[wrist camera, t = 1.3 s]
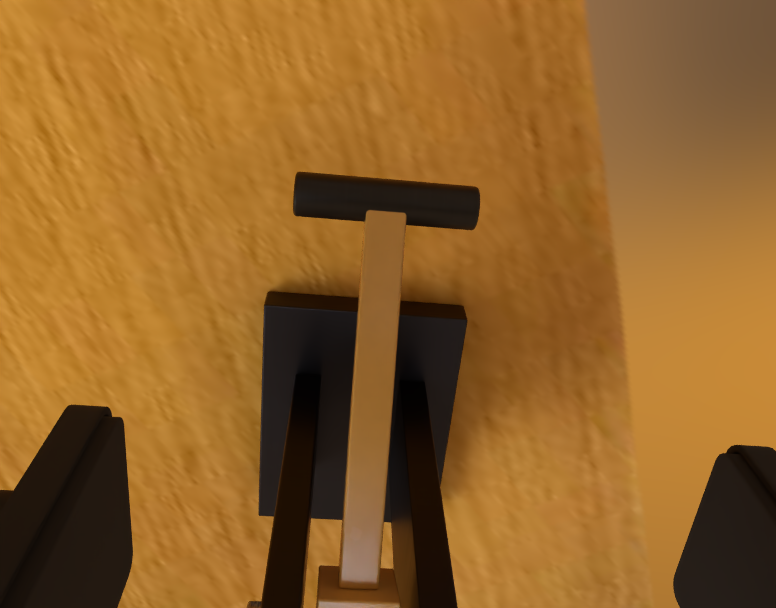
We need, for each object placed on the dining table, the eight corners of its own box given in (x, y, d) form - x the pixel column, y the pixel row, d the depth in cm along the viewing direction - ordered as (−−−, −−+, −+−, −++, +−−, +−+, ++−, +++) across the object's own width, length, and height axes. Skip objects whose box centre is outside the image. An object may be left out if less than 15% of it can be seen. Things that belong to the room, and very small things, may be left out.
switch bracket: (267, 291, 28) (203, 537, 17) (463, 305, 29) (532, 554, 17) (261, 496, 32) (207, 804, 21) (431, 505, 33) (469, 810, 21)
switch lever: (298, 178, 21) (294, 164, 19) (469, 192, 22) (486, 181, 19) (264, 657, 22) (255, 703, 19) (433, 663, 22) (445, 709, 20)
